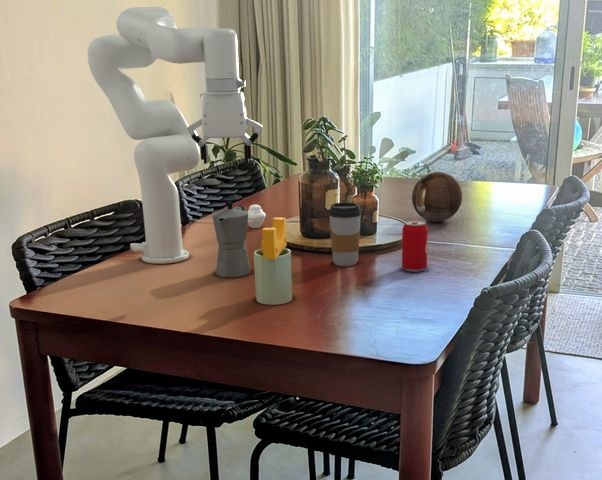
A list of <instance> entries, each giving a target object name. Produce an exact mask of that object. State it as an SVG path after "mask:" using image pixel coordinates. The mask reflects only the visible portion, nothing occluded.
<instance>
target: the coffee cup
mask: <svg viewBox="0 0 602 480" xmlns="http://www.w3.org/2000/svg"><path fill="white" fill-rule="evenodd" d="M328 216H329V225H330V228H329V231H330V245H331V252H332V253H331V254H332V262H333V264H334V265H336V266H338V267H351V266H355V265H356V264H357V262H358V261H359V251H360V238H361V216H362V209H361V206H360V204H359V203H357V202H349V201H348V202H347V201H346V202H345V201H343V202H336V203H332V204H330V208H329V209H328Z"/></svg>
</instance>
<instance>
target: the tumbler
mask: <svg viewBox="0 0 602 480" xmlns="http://www.w3.org/2000/svg"><path fill="white" fill-rule="evenodd" d="M253 263H254V287H255V289H254V290H255V301H256V302H257V303H259V304H261V305H267V306H268V305H269V306H272V305H273V306H276V305H283V304H284V305H285V304H287V303H289V302H291V301H292V300H293V276H292V273H293V271H292V270H293V269H292V250H291V249H289V248H287V247H285V248H284V249H283V250H282V252H281V253H280V254H279V255H278V256H277V258H276V259H263V252H262V251H261V248H259V249H255V250H254V252H253Z"/></svg>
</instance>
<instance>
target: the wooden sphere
mask: <svg viewBox="0 0 602 480" xmlns="http://www.w3.org/2000/svg"><path fill="white" fill-rule="evenodd" d="M411 202H412V206H413V208H414V210H415V212H416V213H417V215H419V217H421V218H422V219H424V220H426V221H428V222H432V223H441V222H444V221H447V220H450V219H451V218H453V216H454V215H456V214H457V212H458V211H459V209H460V207H461V205H462V202H463V191H462V187H461V185H460V183H459V182H458V181H457V179H456V177H454V176H452V174H449V173H447V172H445V171H431V172H429V173H426V174H424V175H423V176H421V177H420V178H419V179H418V180H417V181H416V183H415V184H414V187H413V189H412V193H411Z"/></svg>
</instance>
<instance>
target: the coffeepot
mask: <svg viewBox="0 0 602 480" xmlns="http://www.w3.org/2000/svg"><path fill="white" fill-rule="evenodd" d="M233 205H234V202H233V201H230V200H229V201H226V206H227V208H225V209H222V210H218V211H214V212H212V214H211V215H212V221H213V227H214V231H215V236H216V241H217V243H218V246H217V247H218V248H217V259H216V270H215V274H216V275H217V276H219V277H222V278H241V277H245V276H248V275H250V274H251V271H252V270H251V265H250V261H249V255H248V250H247V245H246V240H247V232H248V210H245V207H244V205H242V204H239V205H238V206H235V207H234V208H233Z"/></svg>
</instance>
